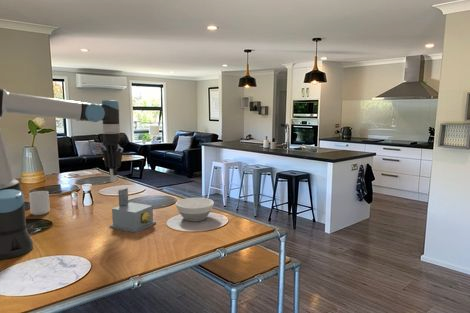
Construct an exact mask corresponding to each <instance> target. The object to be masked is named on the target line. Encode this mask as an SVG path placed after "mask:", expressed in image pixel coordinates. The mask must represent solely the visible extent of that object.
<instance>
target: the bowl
mask: <svg viewBox="0 0 470 313" xmlns="http://www.w3.org/2000/svg"><path fill="white" fill-rule="evenodd" d="M214 204H215V202H214V200H213V199H210V198H206V197H186V198H181V199H179V200H177V201H176V202H175V206H176V208H177V211H178V212H179V214H180V215H181V217H182V218H183V219H184V220H185V221H188V222H201V221H203V220H204V221H205V220H206V219H207V217H208V216H209V214H210V213H211V211H212V210H213V207H214Z"/></svg>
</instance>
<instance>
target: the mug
mask: <svg viewBox="0 0 470 313" xmlns="http://www.w3.org/2000/svg"><path fill="white" fill-rule="evenodd" d="M28 196H29V197H28V198H29V199H28V200H29V207H30V208H29V209H30V213H31V215H32V216H43V215H47V214H48V213H49V212H50V210H51V208H50V195H49V191H48V190H36V191H31V192H29V193H28Z"/></svg>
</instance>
